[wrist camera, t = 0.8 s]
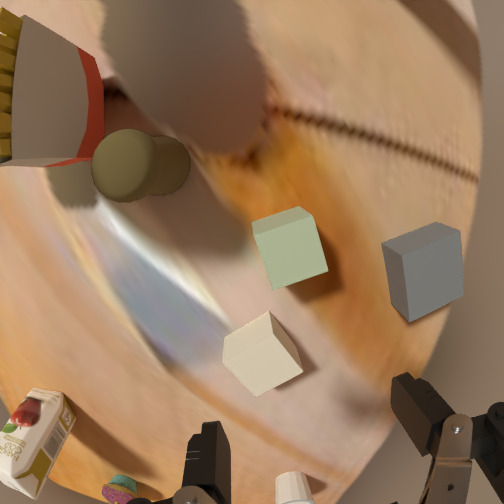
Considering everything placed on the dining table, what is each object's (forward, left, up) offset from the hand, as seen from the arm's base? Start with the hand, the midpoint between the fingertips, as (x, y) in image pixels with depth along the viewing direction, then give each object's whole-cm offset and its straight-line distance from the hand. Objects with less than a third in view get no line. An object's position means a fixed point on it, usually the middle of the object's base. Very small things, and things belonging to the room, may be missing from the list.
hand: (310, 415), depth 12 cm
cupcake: (+35, -42, -20) cm, 58 cm away
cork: (-14, -7, -20) cm, 25 cm away
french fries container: (-23, -13, -20) cm, 33 cm away
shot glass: (+41, -9, -20) cm, 47 cm away
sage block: (-3, +2, -20) cm, 20 cm away
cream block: (+8, -4, -20) cm, 22 cm away
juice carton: (+11, -41, -20) cm, 47 cm away
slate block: (+5, +16, -20) cm, 27 cm away
